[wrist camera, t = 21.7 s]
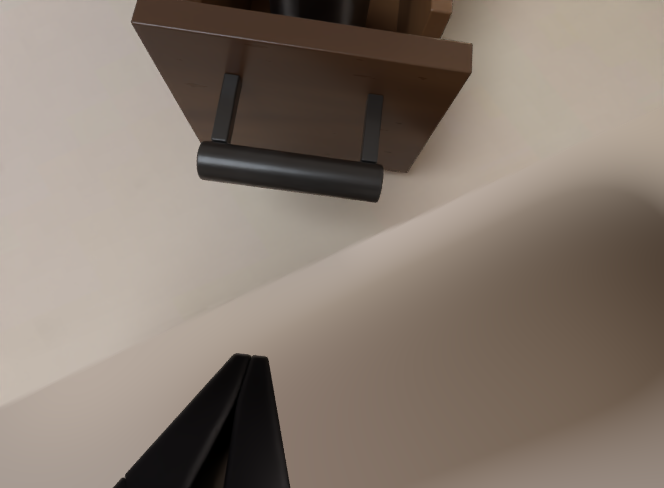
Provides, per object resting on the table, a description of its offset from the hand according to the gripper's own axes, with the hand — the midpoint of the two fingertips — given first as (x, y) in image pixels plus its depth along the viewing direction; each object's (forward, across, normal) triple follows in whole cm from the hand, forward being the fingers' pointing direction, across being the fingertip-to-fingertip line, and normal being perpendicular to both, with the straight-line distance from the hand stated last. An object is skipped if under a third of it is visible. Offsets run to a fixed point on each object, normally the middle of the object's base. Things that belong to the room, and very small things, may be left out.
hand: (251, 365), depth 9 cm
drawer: (+17, 0, -4) cm, 18 cm away
